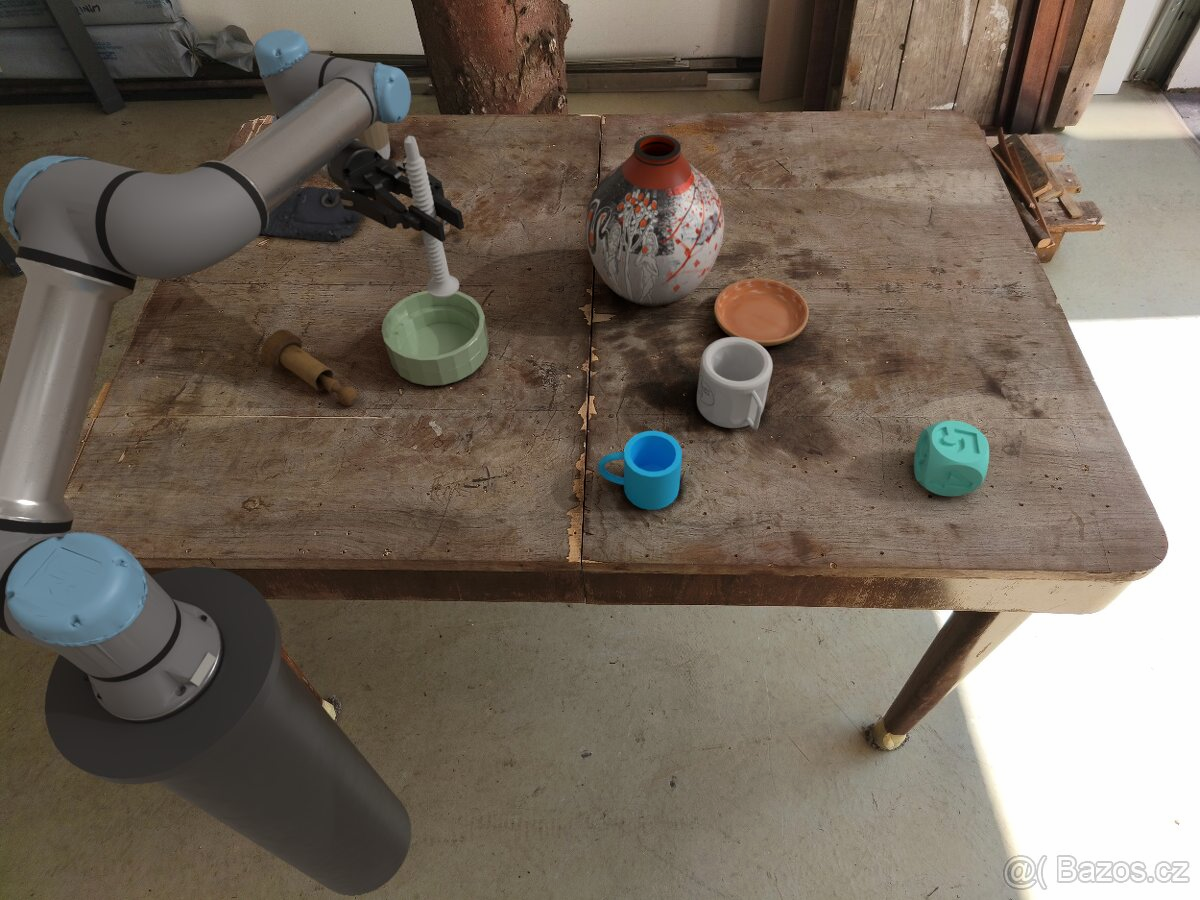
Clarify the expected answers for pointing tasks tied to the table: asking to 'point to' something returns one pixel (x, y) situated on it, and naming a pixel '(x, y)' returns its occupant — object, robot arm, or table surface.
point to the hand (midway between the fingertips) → (451, 226)
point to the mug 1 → (648, 469)
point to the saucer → (761, 311)
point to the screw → (423, 200)
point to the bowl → (436, 337)
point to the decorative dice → (951, 458)
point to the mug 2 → (734, 382)
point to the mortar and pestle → (303, 365)
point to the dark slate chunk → (312, 216)
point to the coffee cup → (377, 138)
